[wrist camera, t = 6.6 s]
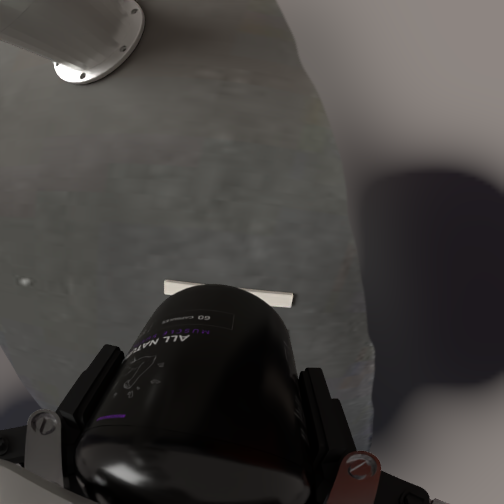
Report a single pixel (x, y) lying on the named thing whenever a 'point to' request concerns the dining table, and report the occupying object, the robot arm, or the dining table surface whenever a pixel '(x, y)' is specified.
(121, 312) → the dining table surface
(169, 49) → the dining table surface
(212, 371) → the supplement bottle
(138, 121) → the dining table surface
